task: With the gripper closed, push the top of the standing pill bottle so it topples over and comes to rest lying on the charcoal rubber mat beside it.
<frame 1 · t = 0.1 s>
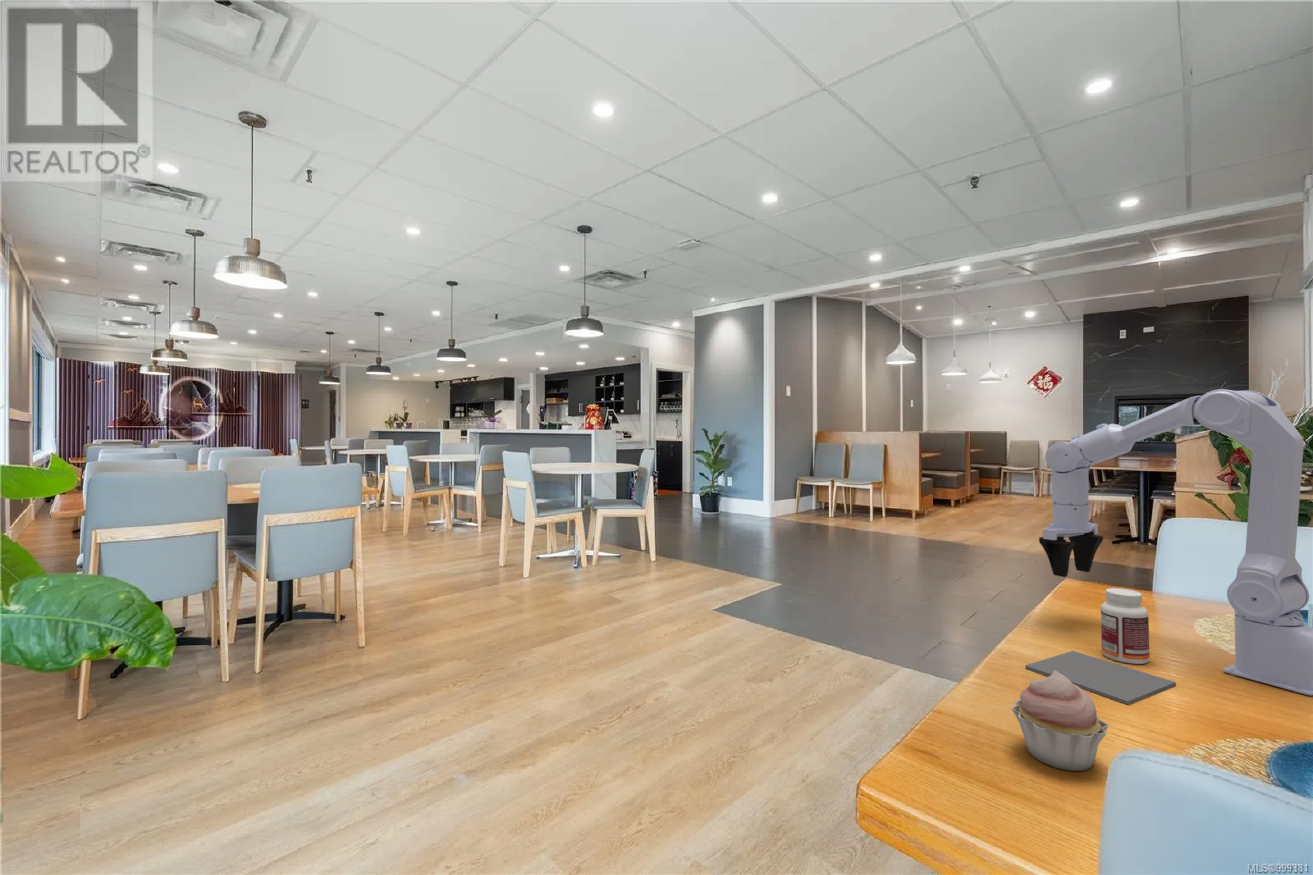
hand: (1071, 573, 111), 10 cm above the table, tool pointing down, fingers open, 7 cm apart
cupcake: (1058, 758, 67), on the table
pill bottle: (1125, 659, 95), on the table
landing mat: (1097, 676, 88), on the table
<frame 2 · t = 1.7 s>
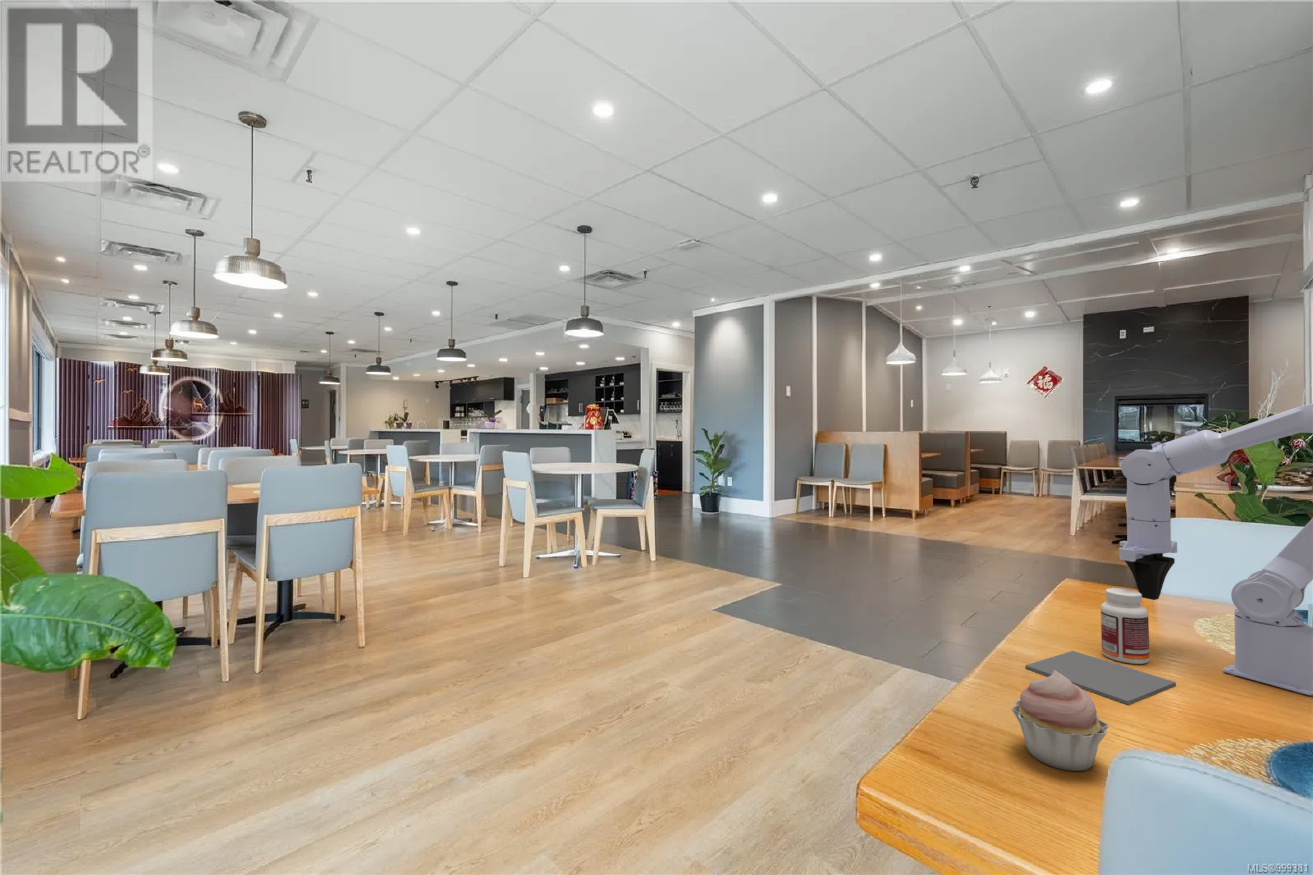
hand: (1149, 598, 99), 9 cm above the table, tool pointing down, fingers closed
nothing on the table moved.
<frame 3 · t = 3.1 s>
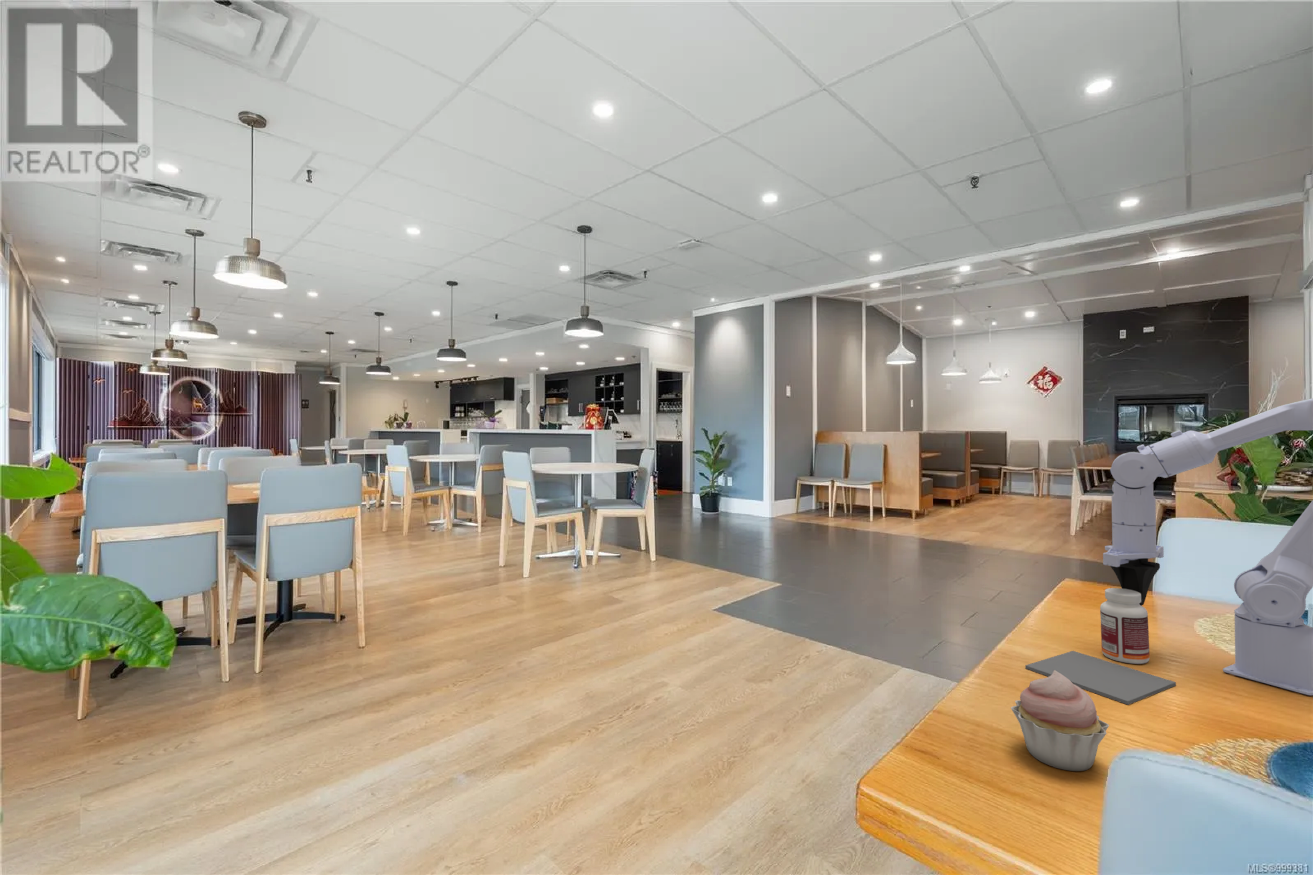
hand: (1134, 604, 97), 8 cm above the table, tool pointing down, fingers closed, pressing on pill bottle
pill bottle: (1125, 658, 95), on the table, touching gripper
everything else where it was.
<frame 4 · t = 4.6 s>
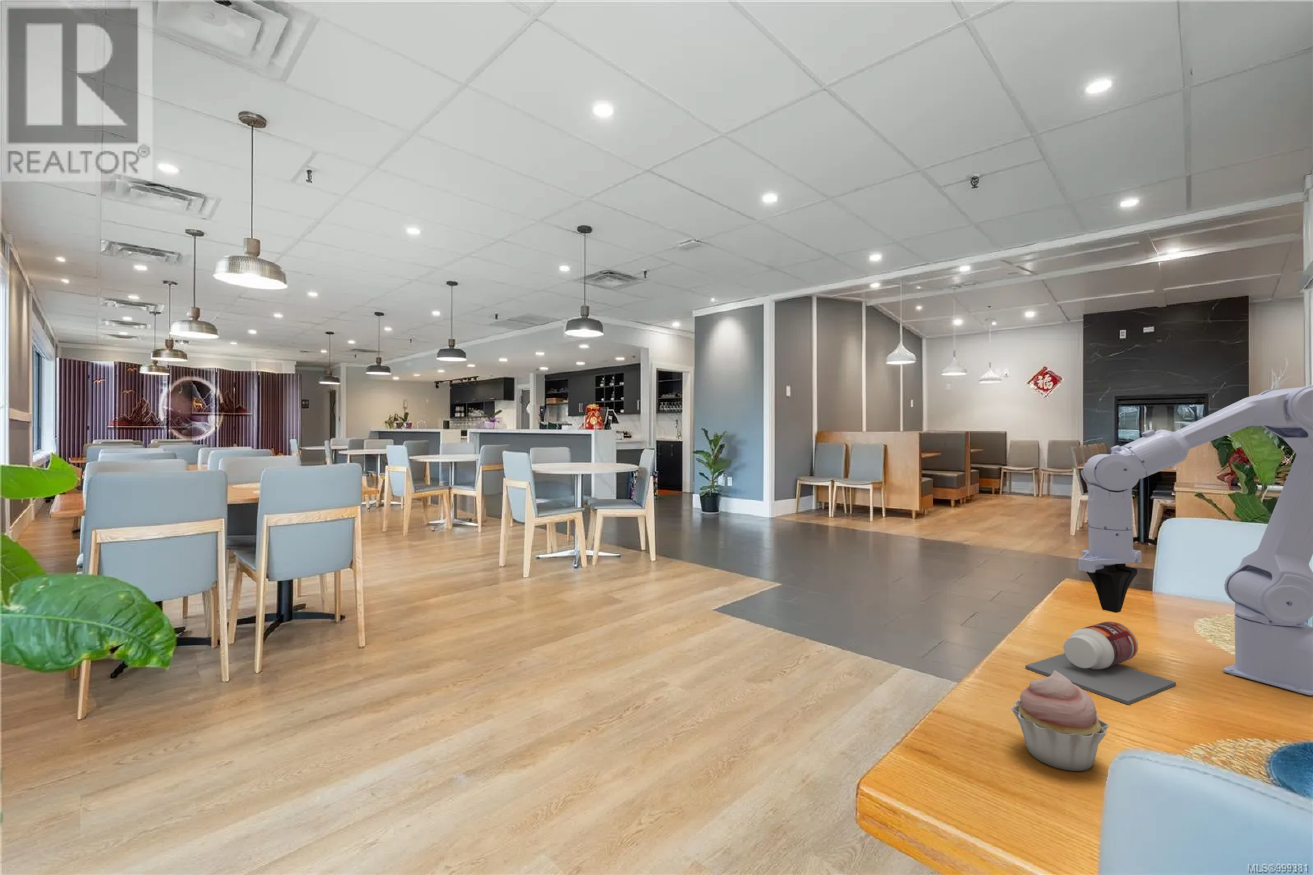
hand: (1111, 610, 93), 8 cm above the table, tool pointing down, fingers closed
pill bottle: (1117, 640, 94), point 4 cm above the table, touching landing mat
everything else where it was.
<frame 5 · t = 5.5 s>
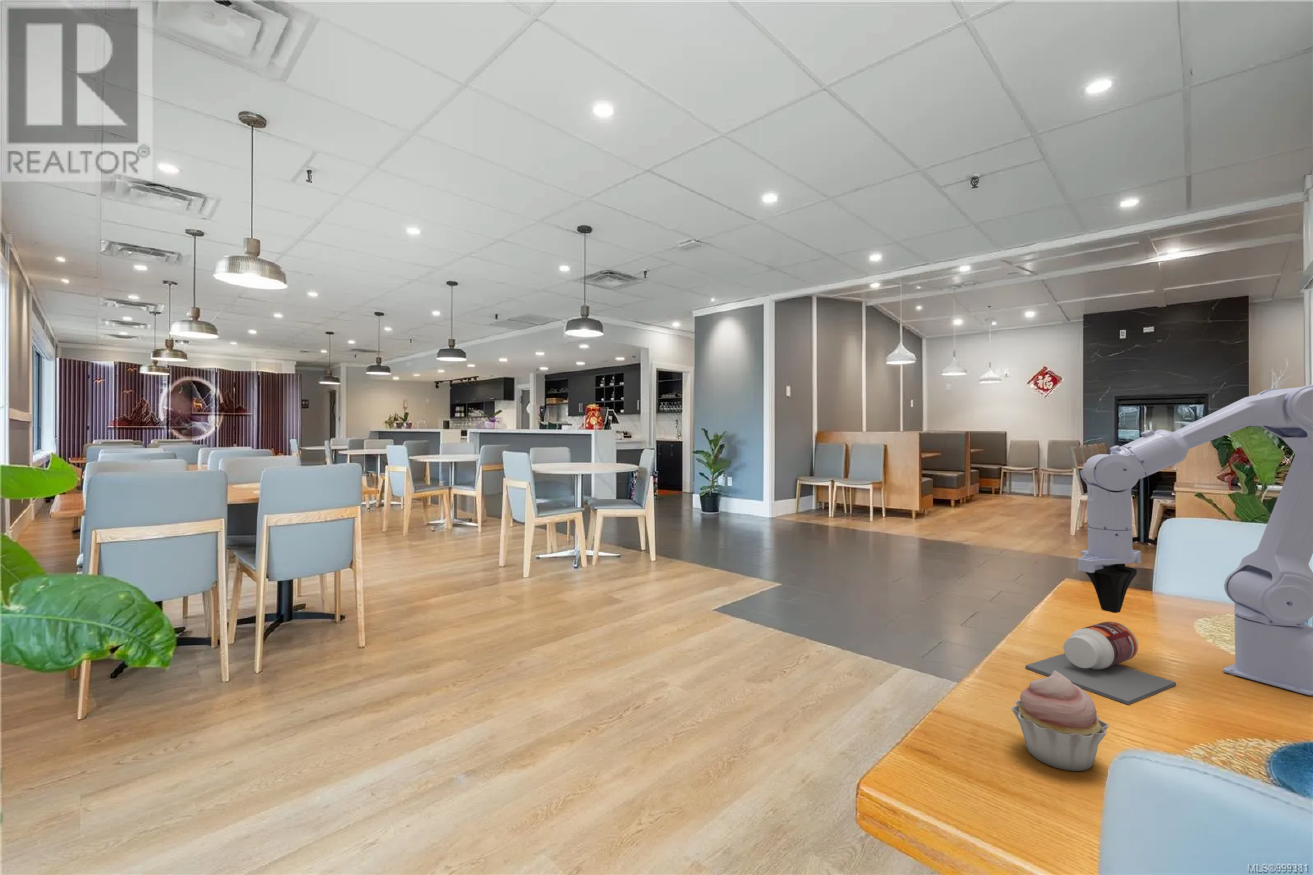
hand: (1110, 610, 93), 8 cm above the table, tool pointing down, fingers closed
nothing on the table moved.
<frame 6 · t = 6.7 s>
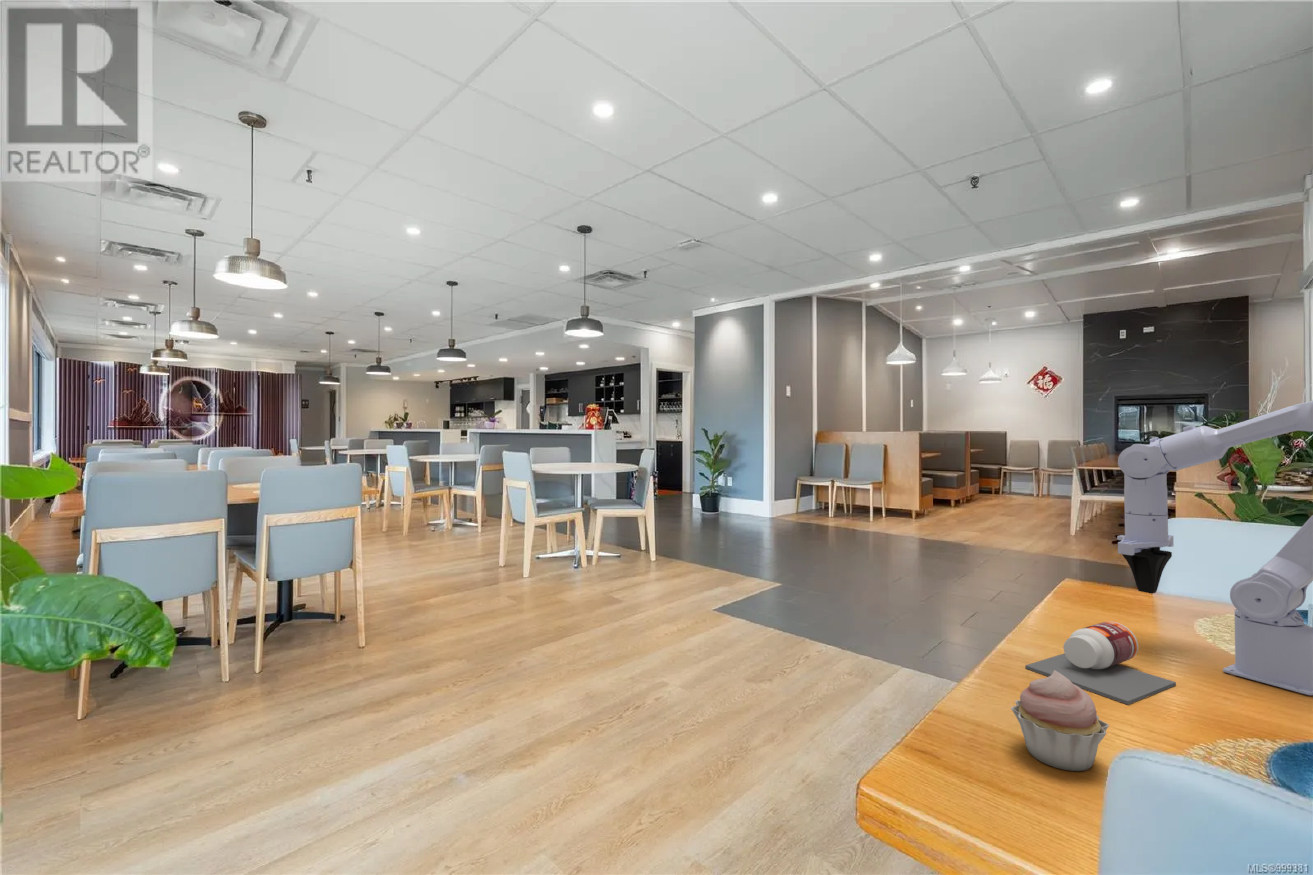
hand: (1147, 591, 99), 10 cm above the table, tool pointing down, fingers closed
nothing on the table moved.
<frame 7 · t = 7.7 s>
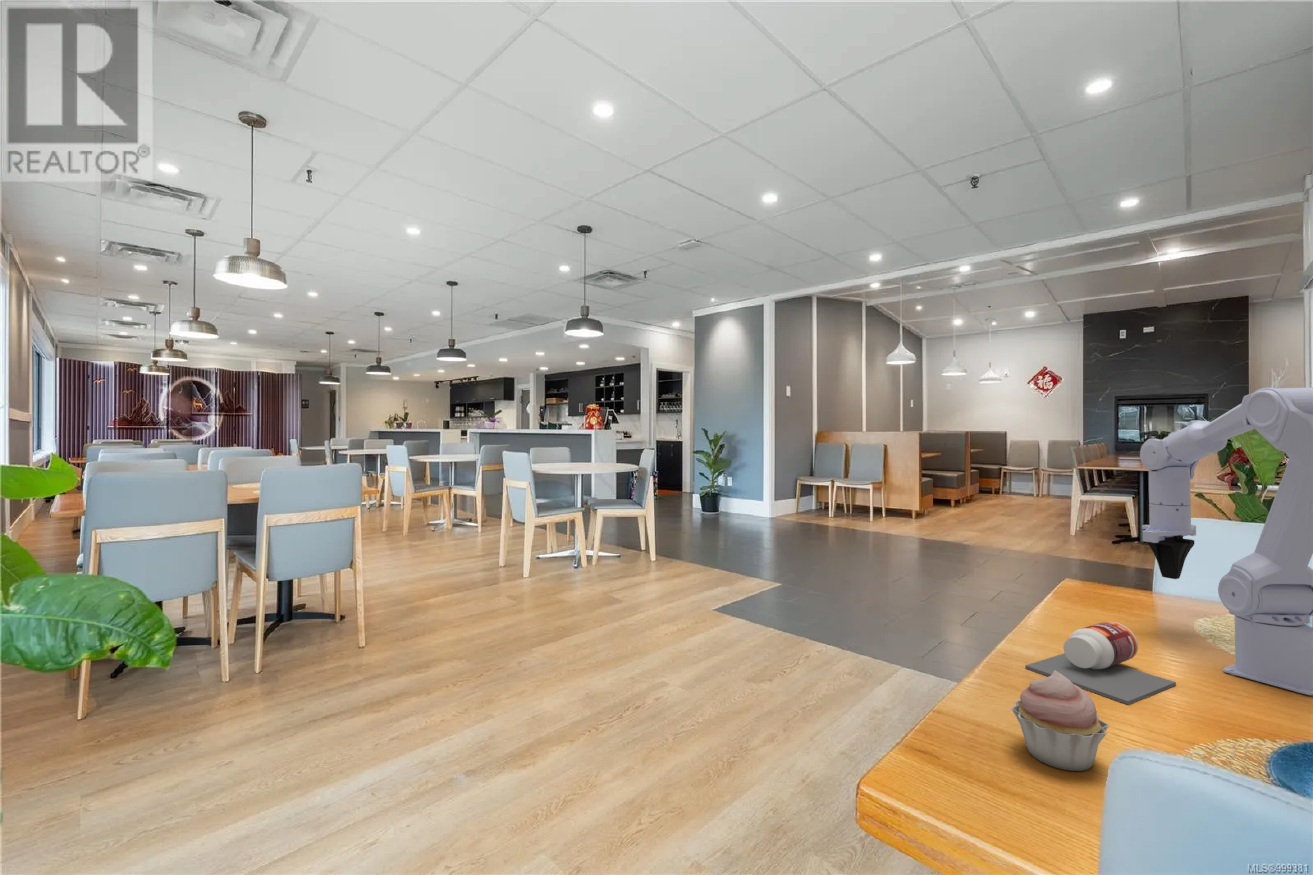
hand: (1170, 577, 105), 10 cm above the table, tool pointing down, fingers closed
nothing on the table moved.
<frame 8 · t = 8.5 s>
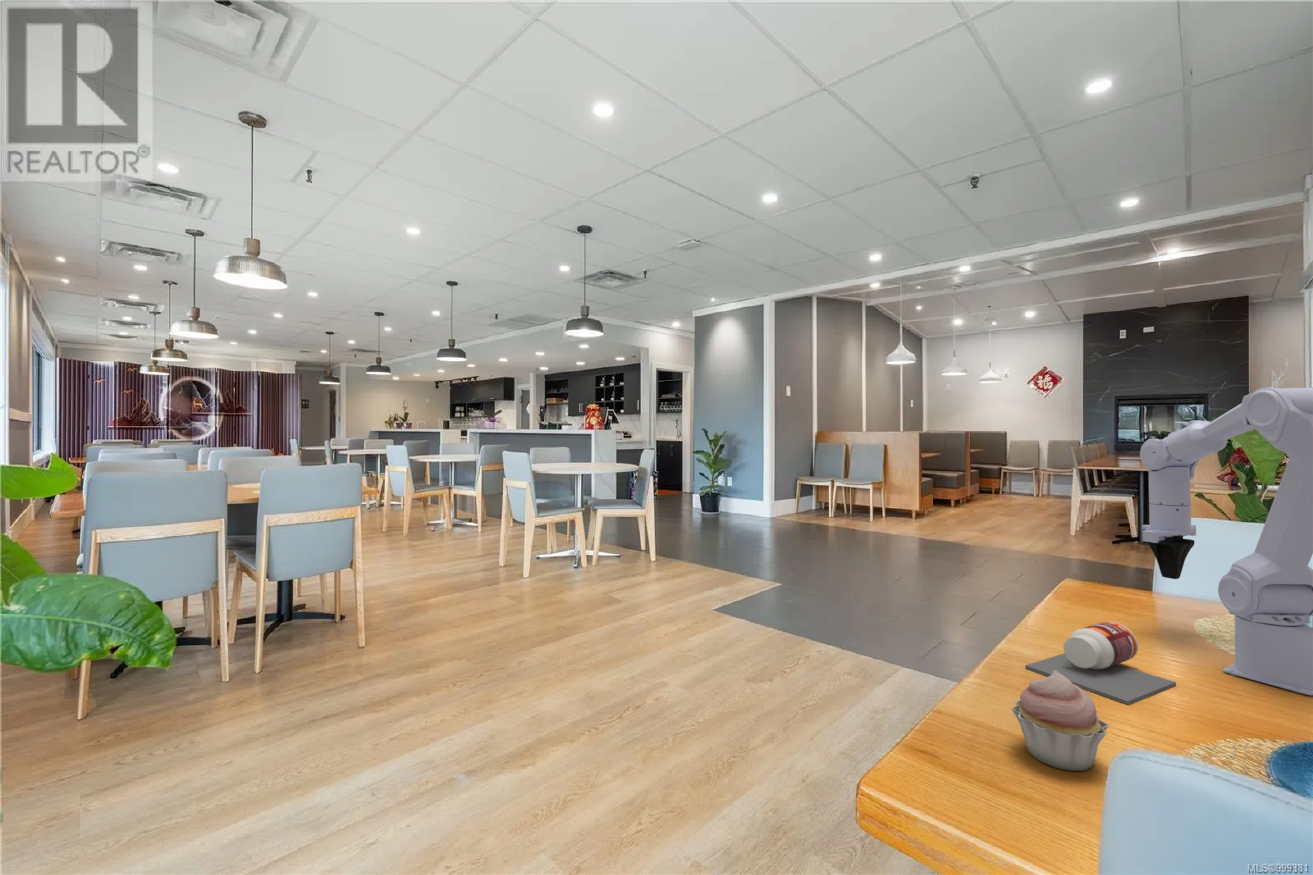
hand: (1170, 577, 105), 10 cm above the table, tool pointing down, fingers closed
nothing on the table moved.
at the end: pill bottle tilted 90°; pill bottle touching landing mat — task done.
